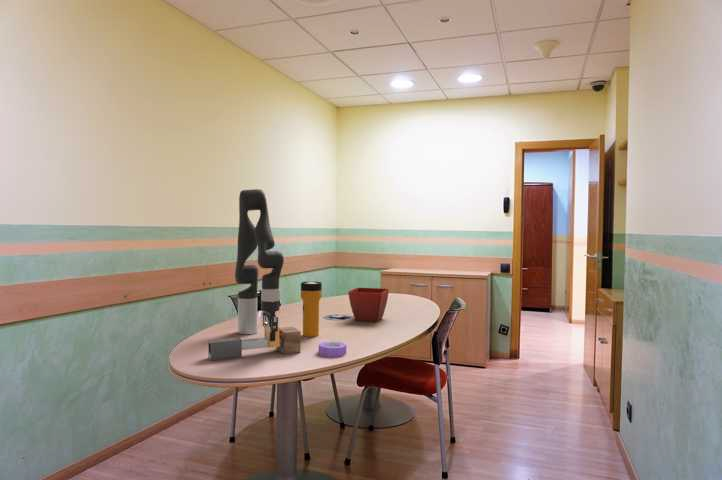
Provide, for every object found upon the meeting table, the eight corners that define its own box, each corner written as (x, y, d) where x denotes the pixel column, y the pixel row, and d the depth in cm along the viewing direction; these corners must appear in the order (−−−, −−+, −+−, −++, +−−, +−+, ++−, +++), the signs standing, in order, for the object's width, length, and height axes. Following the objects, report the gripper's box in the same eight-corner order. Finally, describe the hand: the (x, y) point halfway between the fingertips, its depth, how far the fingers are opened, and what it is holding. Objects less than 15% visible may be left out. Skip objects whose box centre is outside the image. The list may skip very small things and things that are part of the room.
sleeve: (208, 357, 198) (208, 340, 197) (238, 354, 203) (238, 337, 203) (210, 361, 193) (211, 342, 193) (241, 357, 199) (241, 339, 198)
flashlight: (324, 282, 236) (303, 283, 233) (323, 336, 237) (303, 338, 234) (318, 280, 246) (298, 281, 242) (317, 332, 246) (298, 333, 243)
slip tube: (229, 348, 202) (229, 328, 202) (283, 342, 213) (283, 323, 213) (233, 352, 196) (233, 331, 196) (288, 346, 207) (288, 326, 207)
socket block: (276, 348, 213) (276, 328, 213) (292, 347, 217) (292, 326, 216) (284, 354, 204) (284, 332, 204) (300, 352, 208) (300, 331, 207)
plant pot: (347, 321, 276) (347, 291, 275) (357, 315, 294) (357, 287, 294) (380, 323, 270) (381, 293, 270) (388, 317, 289) (389, 288, 288)
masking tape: (346, 350, 214) (346, 341, 214) (346, 357, 202) (346, 347, 202) (319, 349, 214) (319, 341, 214) (317, 357, 202) (317, 347, 202)
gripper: (256, 297, 211) (256, 336, 211) (266, 302, 198) (266, 344, 198) (273, 296, 214) (273, 335, 215) (284, 301, 201) (284, 342, 202)
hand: (269, 339), depth 207 cm, fingers closed on slip tube, 6 cm apart
